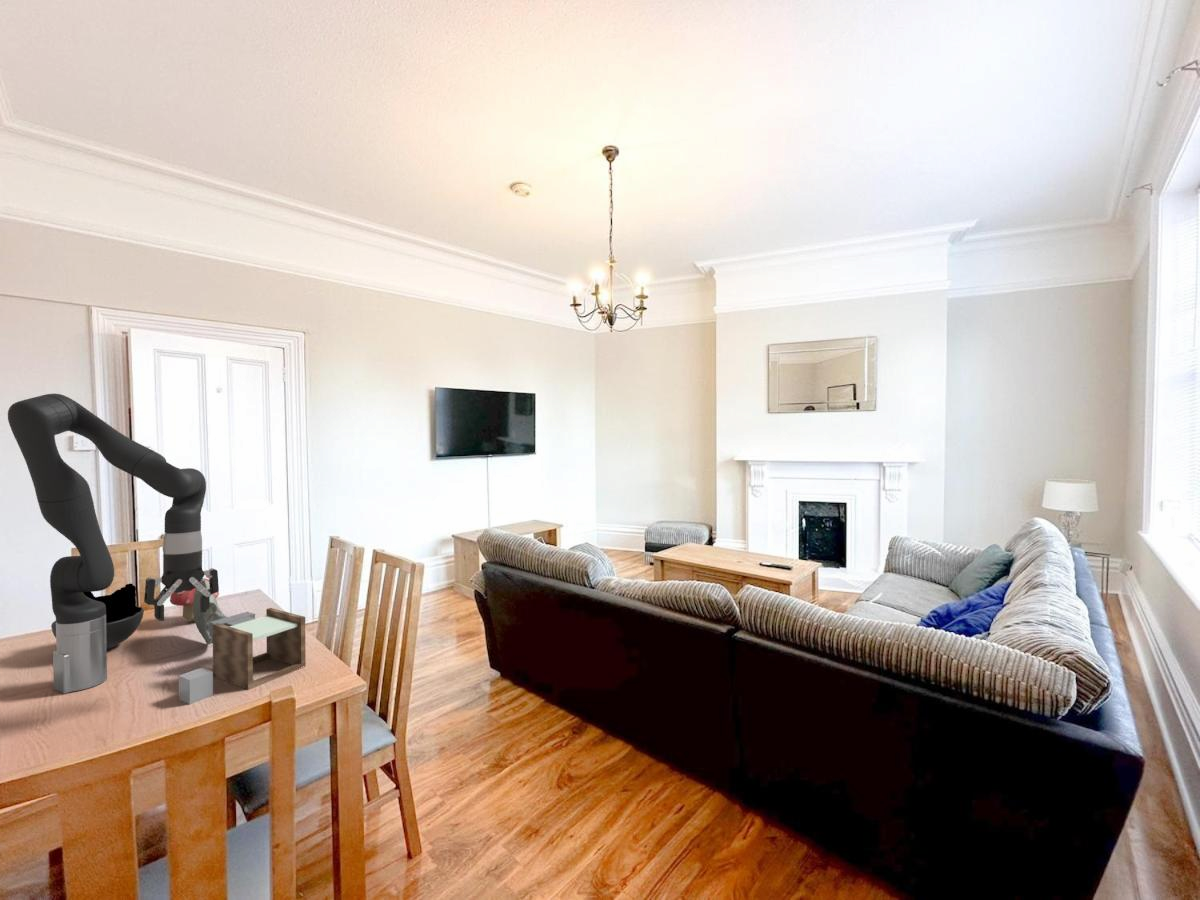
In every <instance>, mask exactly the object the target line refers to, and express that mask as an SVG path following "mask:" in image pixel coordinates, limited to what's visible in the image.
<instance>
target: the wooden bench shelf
mask: <svg viewBox="0 0 1200 900" xmlns="http://www.w3.org/2000/svg"><path fill="white" fill-rule="evenodd" d="M265 614H266V615H265V616H270V617H274V618H278V619H281V620H285V621H289V622H292V623H296V624H297V627H295V628H292V629H289V630H286V631H283V632H280V633H277V634H274V635H271V636H268V637H266V652H264V653H260V654H259V655H255V656H253V655H254V654H253V653H254V646H253V642H254V641H253V634H252V633H249V632H245V631H242V630H239V629H236V628H232V627H229V626H226V625H223V624H219V623H215V624H213V643H212V672H213V677H215V678H218V679H219V680H223V681H225V682H228V683H230V684H233V685H236V686H239V687H240V688H243V689H246V690H251V689H254V688H256V687H258V686H261V685H264V684H266V683H268V682H271V681H273V680H276V679H278V678H280V677H283V676H285V674H286V675H288V674H291V673H293V672H295V670H296V671H297V669H298V670H300V669H302V668H301V667H303V666H305V665H306V616H303V615H299V614H295V613H292V612H288V611H284V610H280V609H277V608H273V607H269V608H268V607H267V608H266V613H265ZM268 658H271V659H274V660H277V661H279V662H283V663H285V664H288V665H290V666H287V667H284V668H283V669H280V670H278V671H275V672H272V673H270V674H269V673H268V674H267V675H265V676H262V677H259V678H258V679H257V678H256V679H255V680H254V664H255V663H258V662H260V661H263V660H265V659H268ZM305 667H306V666H305ZM299 668H300V669H299ZM303 668H304V667H303Z"/></svg>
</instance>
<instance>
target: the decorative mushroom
mask: <svg viewBox="0 0 1200 900" xmlns="http://www.w3.org/2000/svg"><path fill="white" fill-rule="evenodd" d="M203 578H204V579H205V580H207V581H208V582H209V578H207V577H203ZM219 591H220V590H219ZM219 591H218V592H217V593H214V595H215V598H216V599H218V597H219V595H220V592H219ZM194 593H195V588H194V589H192V590H191V591H183V592H180V593H175V592H173V593H172V595H171V596H170V597H169V603H170V604H171V605H174V606H180V607H181V606H182V618H183V619H185V620H186V621H188V622H192V623H193V622H195V620H194V612H193V599H194Z"/></svg>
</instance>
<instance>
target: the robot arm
mask: <svg viewBox="0 0 1200 900" xmlns="http://www.w3.org/2000/svg"><path fill="white" fill-rule="evenodd" d="M7 420H8V424H9V427H10V429H11V432H12V434H13V436H14V440H15V441H16V443H17V445H18V448H19V449H20V452H21V454H22V456H23V459H24V461H25V464H26V465H27V469H28V472H29V475H30V478H31V481H32V484H33V487H34V490H35V491H34V492H35V495H36V499H37V503H38V506H39V509H40V513H41V515H42V517H43V519H44V520H45V521H46V522H47V524H48V525H49V526H50V527H52V528H53V529H55V530H56V531H57V532H58V533H60V535H63V537H65V538H66V539H67V540H68V541H70V543H72V544H73V545H74V547H75V548H76V550H77V551H78V553H79V555H69V556H63V557H61V558H59V559H57V560H56V561H55V562H54V564H53V565H52V568H51V571H50V577H49V587H50V595H51V607H52V612H53V614H54V617H55V621H56V638H55V640H56V641H55V645H56V646H55V647H56V650H53V652H52V667H53V668H52V671H53V672H52V674H53V675H52V676H53V677H52V679H53V681H52V683H53V689H54V690H55V691H58V692H60V694H63V695H64V694H67V693H71V692H72V693H73V692H79V691H82V690H86V689H90V688H93V687H96V686H98V685H101V684H102V683H104V682H105V681H107V679H108V660H107V659H108V657H107V652H108V651H107V650H108V649H107V644H106V606H105V604H104V603H102V602H99V601H96V600H93V599H90V598H88V597H87V596H85V595H84V594H83V592H92V593H93V592H100V591H104V590H106V589H108V588H109V587H110V586H111V585H112V583H113V581H114V577H115V566H114V562H113V559H112V556H111V553H110V551H109V549H108V546H107V544H106V542H105V541H106V540H105V539H104V537H103V533H102V530H101V528H100V523H99V521H98V518H97V513H96V509H95V503H94V499H93V496H92V495H93V494H92V491H91V488H90V485H89V483H88V481H87V480H86V478H85V477H83V475H82V474H80V473H79V472H78V471H77V470H75V468H72V466H70V465H69V464H67V463H66V462H65V461H64V460H63V458H62V457H61V456H62V455H60V452H59V450H58V446H57V443H56V438H55V437H56V435H60V434H63V433H66V432H70V433H74V434H76V435H79V436H82V437H83V438H86V439H87V440H89V441H90V442H92V443H93V445H94V446H95V447H96V448H97V449H98V450H99V452H100V454H101V455H102V457H103V458H104V459H105V460H106V461H107V462H108V463H109V464H110V465H112V466H114V467H115V468H117V469H119V470H121V471H123V472H125V473H127V474H128V475H131V476H134V477H135V478H137V479H140V480H141V481H142V482H144V483H145V484H146V485H148V486H149V487H151V488H152V489H154V490H155V491H156V492H157V493H159V494H162V496H163V495H164V496H165V497H167V498H171V499H172V504H171V507H169V509H167V510H166V512H165V514H164V536H163V537H164V538H163V542H162V558H163V559H162V565H163V566H162V572H163V573H162V575H161V577H155V578H152V577H147V578H146V579H145V584H144V587H145V588H144V597H143V598H144V599H143V602H144V603H145V604H146V605H148V606H154V616H153V617H154V618H155V619H156V620H158V621H159V622H163V621H165V605H164V603H165V602H166V601H167V600H168V599H170V597H171V595H172V593H173V592H175V593H180V592H183V591H191V590H192V589H194V588H195V589H196V590H197V591H198V592H200V593H201V594H202V596H201V597H200V610H201V612H207V609H209V607H210V605H209V604H210V595H212V594H214V593H217V592H218V591H220V587H219V574H218V573H219V572H218V571H219V570H217V569H215V568H212V567H211V568H209V569H207V570H203V536H202V531H201V530H202V518H201V517H202V515H201V513H202V510H203V505H204V501H205V497H206V492H207V491H206V490H207V481H206V478H205V476H204V474H203V473H202V471H200V470H197V469H196V468H191V467H190V468H189V467H188V468H179V467H177V466H174V465H172V464H171V463H169V462H167V459H166V458H165V456H163V455H162V454H160V453H158V452H157V451H155V450H152V449H151V448H148V447H147V446H145V445H143V444H142V443H139V442H137V441H135V440H133V439H131V438H130V437H128V436H126V435H125V434H123V433H121V431H118V430H117V429H116V428H114V427H113V426H111V425H110V424H108V423H107V422H105V421H104V420H103V419H101V418H100V417H99V416H97V414H96V415H95V414H94V413H92V412H91V411H90V410H88V409H87V408H86V407H84V406H83V405H81V403H78V401H75V400H74V399H72V398H70V397H68V396H66V395H64V394H61V393H47V394H42V395H38V396H34V397H30V398H28V399H27V398H25V399H23V400H19V401H16V402H14V403H13V404H11V405H10V406H9V408H8V411H7ZM202 578H206V579H208V580H209V585H210V589H208V590H207V589H205V587H204V586H203V585H201V584H200V583H199V582H200V581H201V579H202ZM160 583H162V585H163V586H164V587H163V588H162V589H161V591H160V592H159V594H158V595H157V597H156V598H155V591H156V588H158V586H159V584H160Z"/></svg>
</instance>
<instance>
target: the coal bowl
mask: <svg viewBox="0 0 1200 900" xmlns="http://www.w3.org/2000/svg"><path fill="white" fill-rule="evenodd" d="M136 590H137V587H136V586H135V585H134V583H126V584H125V586H122V587H120V589H116V590H115V591H113V592H112V593H111V594H106V595H100V596H94V594H93V592H83V594H84V595H85V596H87V597H88V598H90V599H93V600H96V601H99V602H102V603H104V604H105V606H106V644H107V650H108V649H111V648H113V647H115V646H118V645H120V644H121V643H123V642H125V640H127V639H129V638H130V637H131V636H132V635H133V634H134V633H135V632H136V631H137V629H138V627H139V626H140V624H141V622H142V620H143V617H144V613H145V612H144V611H145V610H144V608H143V607H142V606H138V605H137V597H136V596H137V592H136ZM50 626H51V631H52V634H53V636H54V638H55V639H56V620H54V621H53V622H52V623H51V625H50Z"/></svg>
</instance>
